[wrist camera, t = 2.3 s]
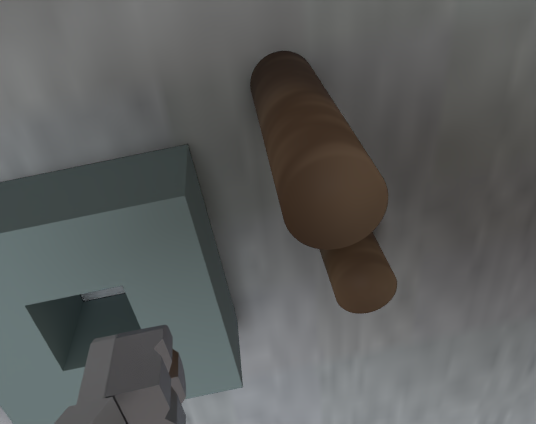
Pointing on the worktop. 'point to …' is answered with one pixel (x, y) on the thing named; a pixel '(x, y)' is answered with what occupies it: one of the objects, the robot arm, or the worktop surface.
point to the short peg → (360, 276)
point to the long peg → (315, 157)
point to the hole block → (108, 277)
